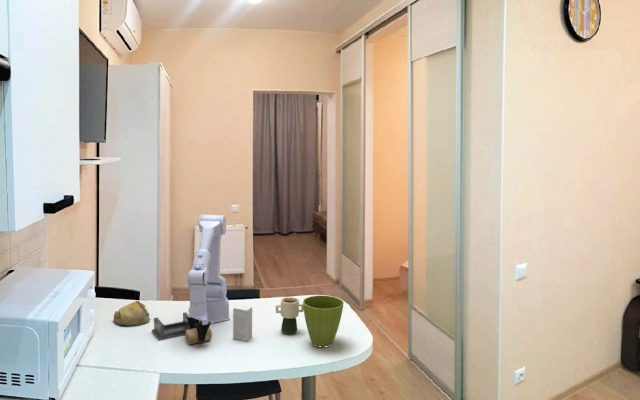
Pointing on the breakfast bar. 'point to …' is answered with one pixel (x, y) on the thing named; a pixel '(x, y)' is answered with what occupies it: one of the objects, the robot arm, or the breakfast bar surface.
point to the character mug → (289, 314)
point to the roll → (196, 336)
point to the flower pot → (322, 318)
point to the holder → (170, 328)
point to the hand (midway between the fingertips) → (198, 337)
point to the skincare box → (242, 322)
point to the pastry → (132, 315)
